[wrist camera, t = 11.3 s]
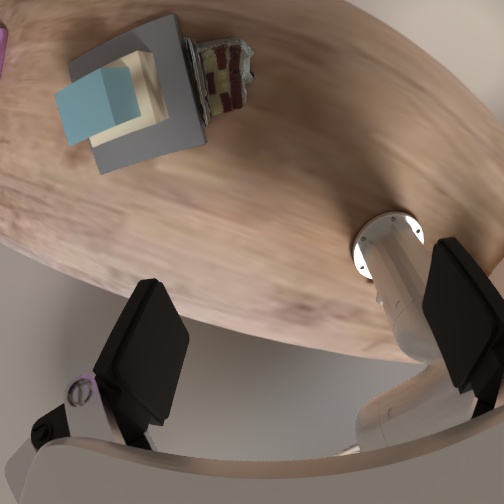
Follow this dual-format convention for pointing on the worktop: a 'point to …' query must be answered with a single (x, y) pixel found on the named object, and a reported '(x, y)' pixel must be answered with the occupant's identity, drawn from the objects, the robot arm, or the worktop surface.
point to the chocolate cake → (220, 73)
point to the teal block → (97, 103)
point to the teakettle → (2, 46)
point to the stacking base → (172, 88)
